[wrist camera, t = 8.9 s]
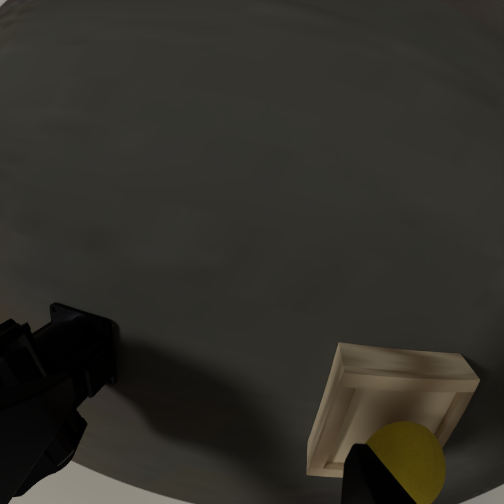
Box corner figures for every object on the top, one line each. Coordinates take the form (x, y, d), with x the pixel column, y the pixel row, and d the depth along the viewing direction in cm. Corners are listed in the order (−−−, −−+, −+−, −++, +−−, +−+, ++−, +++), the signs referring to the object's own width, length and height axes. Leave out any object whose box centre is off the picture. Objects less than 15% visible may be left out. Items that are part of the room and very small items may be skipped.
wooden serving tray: (307, 441, 23) (306, 474, 20) (338, 342, 21) (344, 372, 17) (414, 446, 22) (423, 475, 18) (460, 353, 20) (480, 379, 16)
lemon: (438, 420, 18) (473, 500, 10) (380, 461, 19) (394, 543, 12) (400, 384, 18) (434, 476, 10) (335, 432, 19) (341, 526, 11)
